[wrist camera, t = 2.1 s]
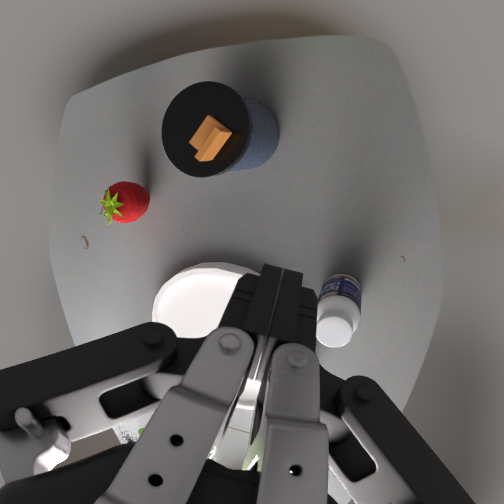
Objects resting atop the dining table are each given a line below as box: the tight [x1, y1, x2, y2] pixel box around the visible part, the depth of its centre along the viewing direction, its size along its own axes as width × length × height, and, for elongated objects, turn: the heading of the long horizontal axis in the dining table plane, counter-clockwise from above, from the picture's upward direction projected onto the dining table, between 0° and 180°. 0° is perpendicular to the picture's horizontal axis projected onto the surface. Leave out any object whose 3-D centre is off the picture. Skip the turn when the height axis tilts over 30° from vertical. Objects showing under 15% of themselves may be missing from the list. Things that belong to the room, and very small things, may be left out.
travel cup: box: [162, 81, 279, 178], centre depth 30 cm, size 9×9×11 cm
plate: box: [152, 262, 279, 410], centre depth 45 cm, size 28×28×2 cm
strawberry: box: [99, 182, 150, 225], centre depth 38 cm, size 6×8×10 cm
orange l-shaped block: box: [189, 115, 232, 161], centre depth 23 cm, size 3×3×2 cm
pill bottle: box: [316, 274, 361, 347], centre depth 32 cm, size 5×5×10 cm
